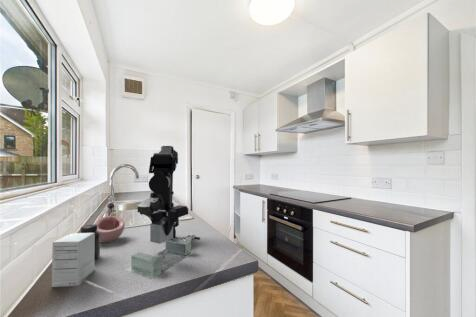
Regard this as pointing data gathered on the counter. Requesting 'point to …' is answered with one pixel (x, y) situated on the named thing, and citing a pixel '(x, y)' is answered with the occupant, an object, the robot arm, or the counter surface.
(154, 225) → the steel block
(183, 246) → the sliding jaw
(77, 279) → the supplement box
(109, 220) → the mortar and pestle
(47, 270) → the counter surface
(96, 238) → the supplement bottle
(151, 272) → the vise
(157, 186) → the robot arm
